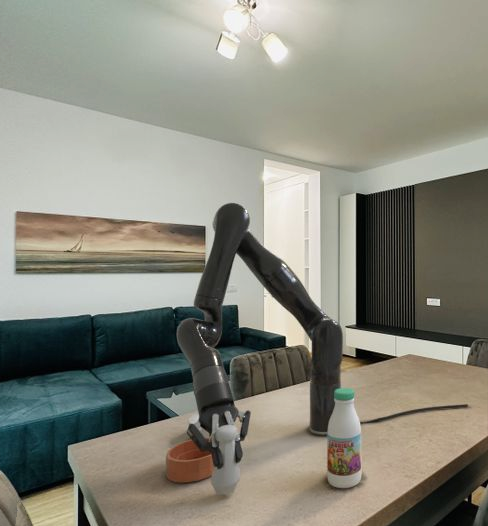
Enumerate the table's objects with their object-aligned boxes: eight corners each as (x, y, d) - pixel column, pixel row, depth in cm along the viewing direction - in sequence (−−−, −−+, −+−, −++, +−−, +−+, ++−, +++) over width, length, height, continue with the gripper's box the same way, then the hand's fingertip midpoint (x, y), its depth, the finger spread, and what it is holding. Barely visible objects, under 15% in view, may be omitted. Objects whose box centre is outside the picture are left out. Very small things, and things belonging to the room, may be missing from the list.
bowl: (231, 457, 95) (231, 437, 95) (208, 484, 82) (208, 461, 83) (184, 456, 95) (184, 437, 95) (154, 483, 83) (154, 460, 83)
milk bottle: (328, 471, 88) (327, 385, 88) (360, 469, 88) (360, 384, 89) (326, 490, 80) (326, 396, 81) (362, 488, 81) (362, 395, 81)
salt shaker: (230, 499, 75) (230, 434, 75) (204, 496, 76) (205, 431, 76) (245, 483, 81) (246, 422, 81) (221, 480, 82) (222, 420, 82)
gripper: (182, 387, 80) (197, 467, 71) (246, 376, 89) (267, 446, 79) (176, 405, 84) (189, 484, 74) (238, 392, 93) (257, 461, 83)
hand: (229, 463), depth 77 cm, fingers closed on salt shaker, 3 cm apart
